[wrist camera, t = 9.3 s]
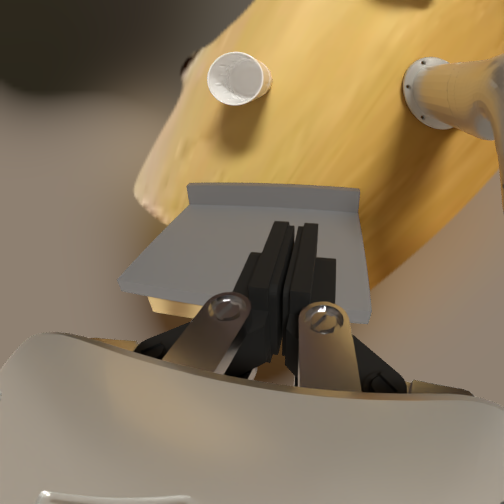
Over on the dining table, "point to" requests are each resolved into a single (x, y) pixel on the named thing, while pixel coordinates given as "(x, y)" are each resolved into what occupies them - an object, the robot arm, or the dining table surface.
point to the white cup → (238, 78)
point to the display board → (250, 241)
